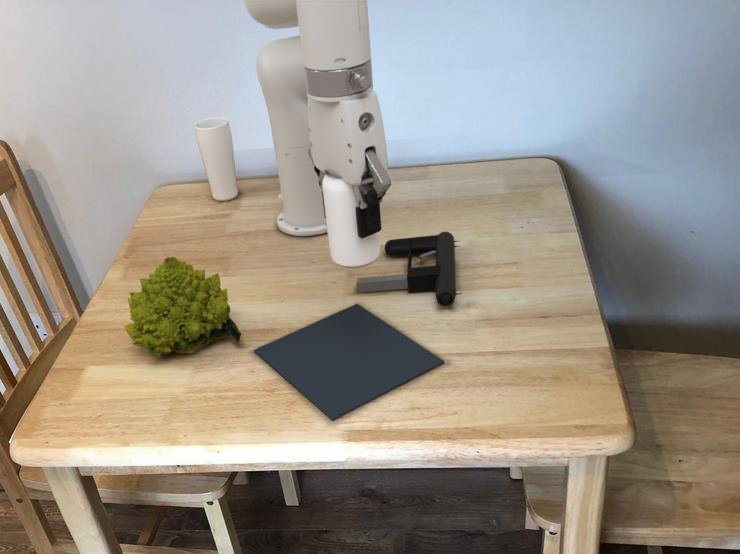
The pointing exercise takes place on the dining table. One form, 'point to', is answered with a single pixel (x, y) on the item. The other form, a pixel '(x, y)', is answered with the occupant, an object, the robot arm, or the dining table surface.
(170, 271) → the vegetable
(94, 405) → the dining table surface
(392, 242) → the door handle
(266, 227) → the dining table surface
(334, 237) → the can
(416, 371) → the mat
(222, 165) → the drinking glass
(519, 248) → the dining table surface
